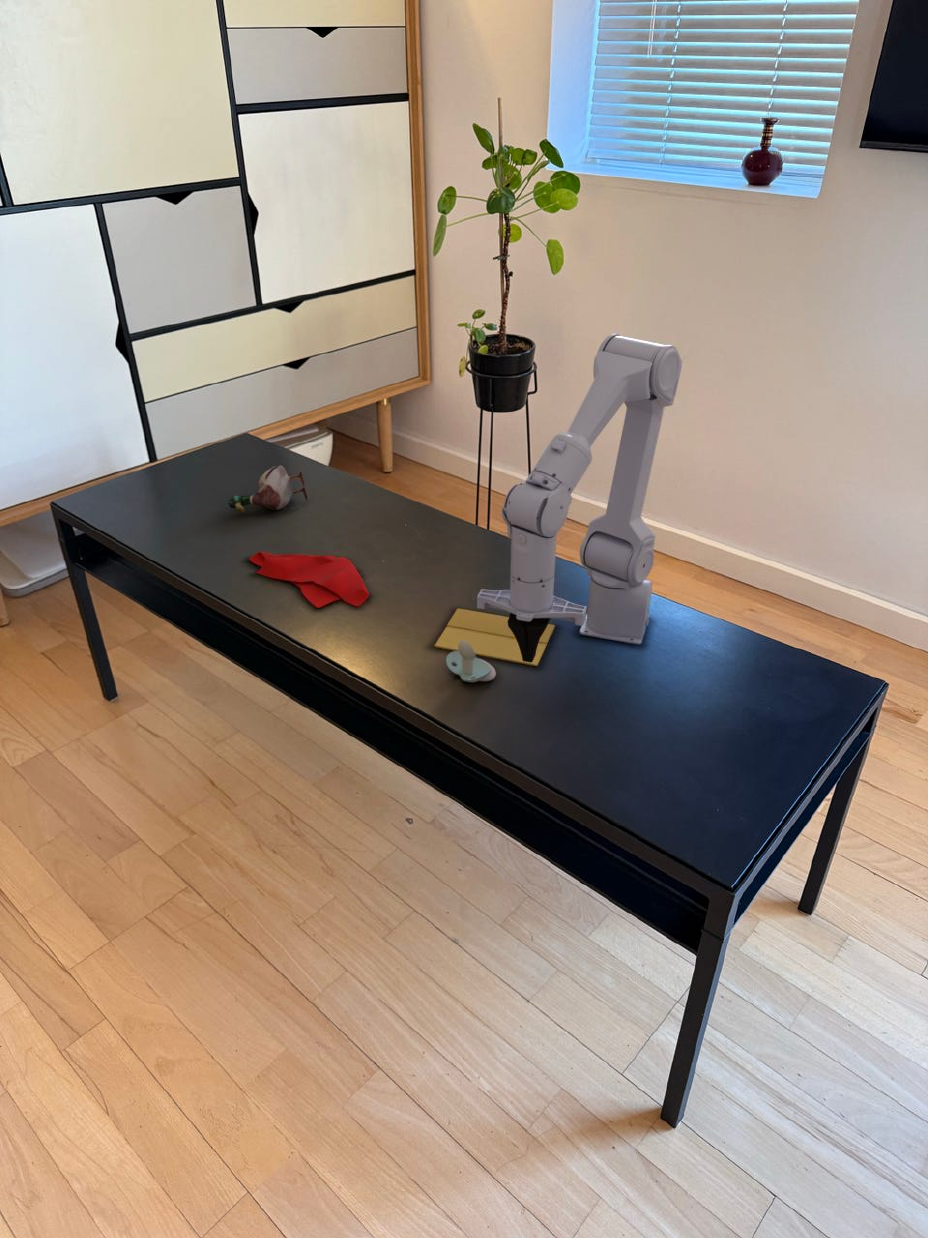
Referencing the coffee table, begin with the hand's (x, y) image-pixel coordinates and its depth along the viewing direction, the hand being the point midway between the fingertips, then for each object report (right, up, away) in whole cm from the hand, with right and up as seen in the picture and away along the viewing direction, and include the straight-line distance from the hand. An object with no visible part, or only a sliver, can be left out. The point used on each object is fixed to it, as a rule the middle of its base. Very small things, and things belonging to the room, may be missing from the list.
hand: (529, 658), depth 122 cm
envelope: (-4, +3, +14) cm, 14 cm away
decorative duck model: (-48, +28, +54) cm, 78 cm away
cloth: (-34, +13, +30) cm, 47 cm away
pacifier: (-8, -3, +6) cm, 10 cm away
